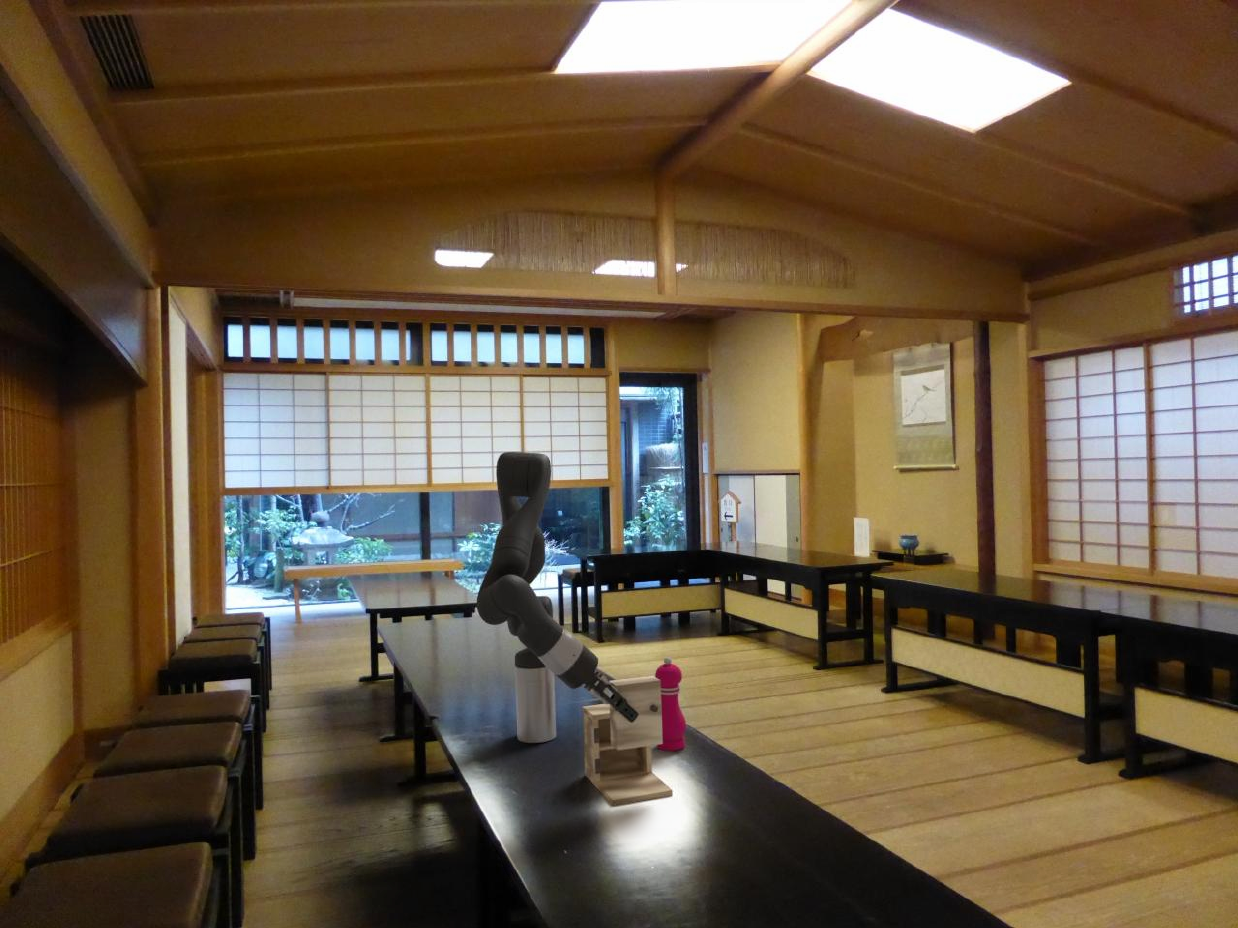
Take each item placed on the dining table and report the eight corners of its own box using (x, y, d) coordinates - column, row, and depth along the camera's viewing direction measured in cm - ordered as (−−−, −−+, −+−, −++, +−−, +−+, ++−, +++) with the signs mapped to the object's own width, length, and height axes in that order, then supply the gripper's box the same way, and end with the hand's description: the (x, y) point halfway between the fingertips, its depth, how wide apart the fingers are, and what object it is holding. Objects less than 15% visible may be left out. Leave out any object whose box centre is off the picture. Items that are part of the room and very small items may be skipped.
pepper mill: (685, 752, 182) (681, 660, 182) (652, 751, 183) (649, 660, 184) (689, 741, 189) (685, 653, 189) (657, 740, 191) (654, 653, 191)
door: (611, 744, 158) (608, 680, 158) (654, 737, 161) (652, 675, 161) (619, 751, 153) (617, 686, 154) (664, 745, 156) (662, 681, 157)
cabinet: (585, 775, 170) (582, 706, 170) (639, 766, 174) (637, 699, 174) (613, 805, 154) (610, 729, 154) (672, 795, 158) (669, 721, 158)
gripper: (592, 648, 148) (657, 708, 152) (570, 635, 161) (630, 691, 165) (564, 681, 146) (631, 741, 150) (544, 666, 159) (606, 721, 163)
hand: (630, 715), depth 157 cm, fingers closed on door, 4 cm apart
